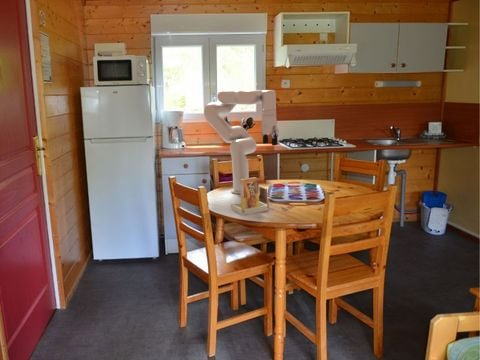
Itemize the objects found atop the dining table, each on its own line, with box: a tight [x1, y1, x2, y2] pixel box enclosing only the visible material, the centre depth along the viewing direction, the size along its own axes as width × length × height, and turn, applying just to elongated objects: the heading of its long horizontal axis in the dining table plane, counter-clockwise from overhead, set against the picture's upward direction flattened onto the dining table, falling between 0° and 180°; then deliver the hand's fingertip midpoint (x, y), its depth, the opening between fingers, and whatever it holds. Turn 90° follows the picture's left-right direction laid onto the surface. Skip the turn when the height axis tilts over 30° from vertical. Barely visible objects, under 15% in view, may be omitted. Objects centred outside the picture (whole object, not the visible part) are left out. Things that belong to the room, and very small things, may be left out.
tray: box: [230, 201, 270, 216], centre depth 223 cm, size 13×15×3 cm
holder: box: [259, 186, 268, 203], centre depth 236 cm, size 7×13×7 cm, turn 117°
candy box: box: [240, 176, 260, 209], centre depth 222 cm, size 9×4×15 cm, turn 118°
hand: (270, 144), depth 239 cm, fingers open, 9 cm apart
